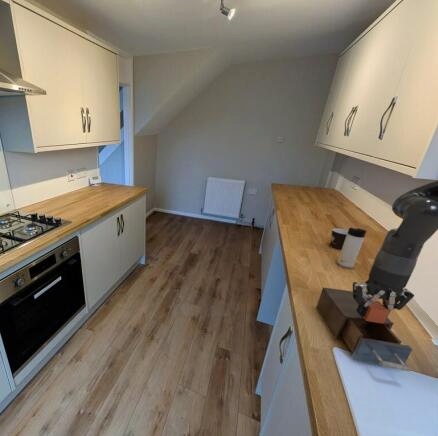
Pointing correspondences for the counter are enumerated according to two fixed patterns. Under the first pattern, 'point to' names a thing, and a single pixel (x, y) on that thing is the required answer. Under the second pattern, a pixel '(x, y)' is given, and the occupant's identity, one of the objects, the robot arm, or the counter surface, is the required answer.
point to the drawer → (375, 344)
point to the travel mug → (351, 247)
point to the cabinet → (340, 309)
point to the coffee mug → (338, 238)
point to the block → (376, 313)
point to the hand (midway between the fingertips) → (370, 316)
